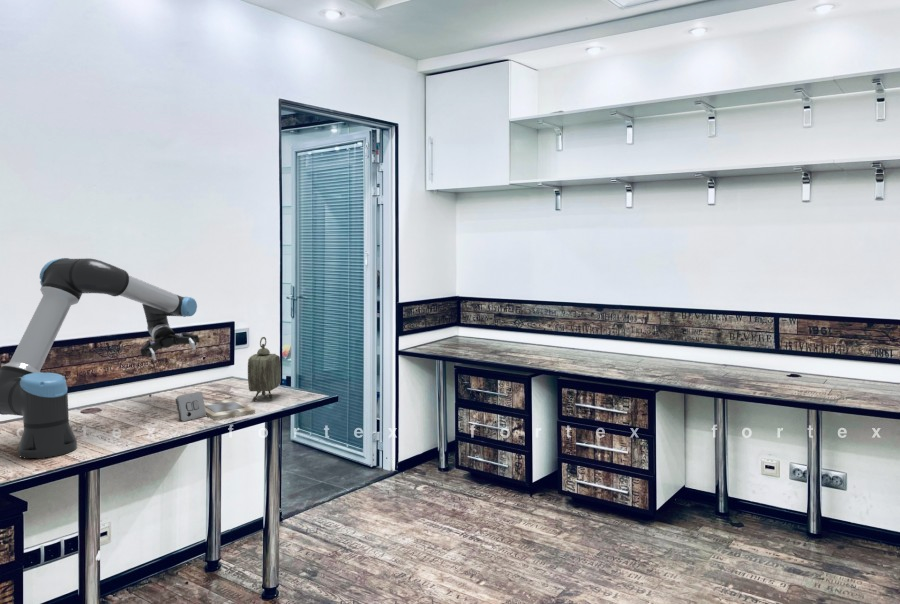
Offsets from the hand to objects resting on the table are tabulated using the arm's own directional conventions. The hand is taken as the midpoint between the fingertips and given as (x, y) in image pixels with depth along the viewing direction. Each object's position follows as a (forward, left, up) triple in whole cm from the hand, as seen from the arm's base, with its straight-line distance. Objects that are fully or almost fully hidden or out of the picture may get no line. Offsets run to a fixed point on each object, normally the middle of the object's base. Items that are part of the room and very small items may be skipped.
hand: (174, 351), depth 232 cm
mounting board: (+16, -2, -24) cm, 29 cm away
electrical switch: (+3, -4, -24) cm, 25 cm away
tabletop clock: (+36, +8, -24) cm, 45 cm away
